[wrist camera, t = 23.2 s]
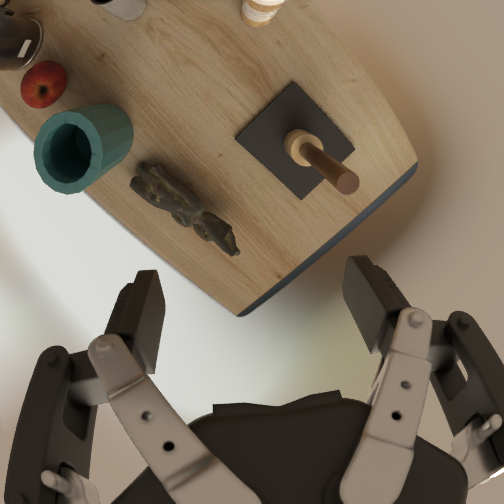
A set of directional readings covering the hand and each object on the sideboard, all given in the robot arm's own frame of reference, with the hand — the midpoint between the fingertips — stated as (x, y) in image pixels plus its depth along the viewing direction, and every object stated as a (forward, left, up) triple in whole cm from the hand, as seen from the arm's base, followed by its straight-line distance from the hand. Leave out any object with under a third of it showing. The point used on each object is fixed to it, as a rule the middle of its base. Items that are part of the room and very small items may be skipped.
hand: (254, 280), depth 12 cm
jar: (-16, -11, -33) cm, 38 cm away
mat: (+7, +7, -33) cm, 34 cm away
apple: (-29, -9, -33) cm, 45 cm away
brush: (+7, +6, -32) cm, 33 cm away
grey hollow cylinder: (-26, +7, -33) cm, 43 cm away
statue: (+1, -11, -33) cm, 35 cm away
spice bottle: (-11, +17, -33) cm, 38 cm away
